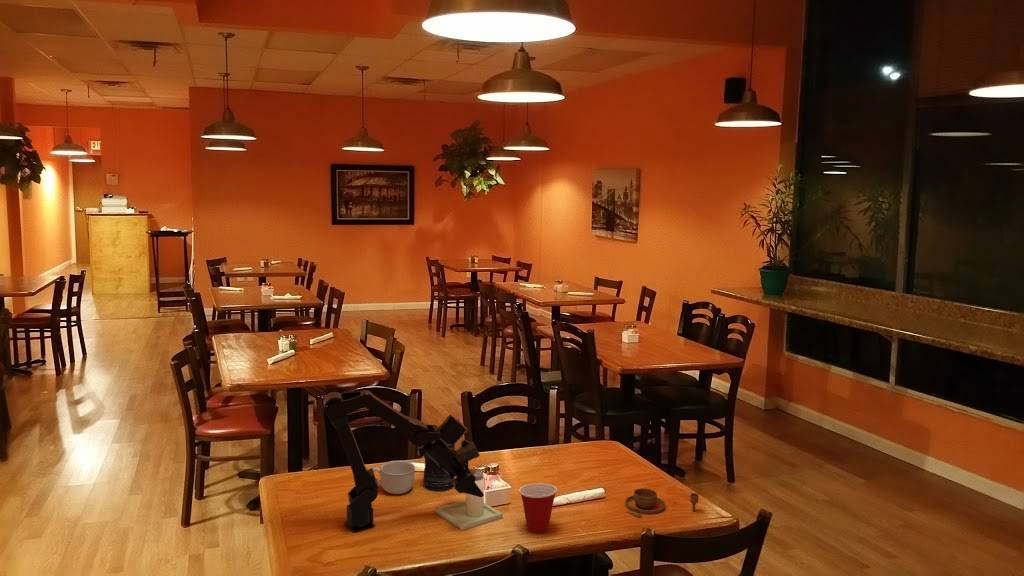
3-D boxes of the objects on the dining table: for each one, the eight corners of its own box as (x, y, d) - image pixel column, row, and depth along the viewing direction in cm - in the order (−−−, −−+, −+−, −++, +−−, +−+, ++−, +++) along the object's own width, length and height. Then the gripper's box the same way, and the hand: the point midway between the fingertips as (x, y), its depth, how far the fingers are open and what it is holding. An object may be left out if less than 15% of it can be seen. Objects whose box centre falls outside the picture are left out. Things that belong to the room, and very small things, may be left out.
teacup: (418, 485, 248) (418, 461, 247) (410, 498, 238) (410, 473, 237) (375, 482, 250) (375, 458, 249) (366, 496, 239) (366, 471, 238)
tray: (462, 530, 217) (462, 525, 217) (435, 513, 228) (435, 508, 228) (502, 518, 225) (502, 513, 225) (474, 502, 236) (474, 497, 236)
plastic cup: (533, 517, 227) (534, 477, 225) (563, 528, 220) (565, 487, 218) (509, 529, 218) (510, 488, 217) (540, 541, 212) (541, 499, 210)
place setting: (643, 494, 247) (644, 476, 246) (700, 512, 234) (701, 494, 233) (612, 510, 234) (613, 491, 233) (670, 531, 221) (672, 511, 220)
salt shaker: (476, 519, 223) (477, 476, 221) (462, 514, 226) (462, 472, 224) (486, 512, 227) (487, 471, 226) (472, 508, 230) (473, 467, 228)
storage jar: (460, 484, 250) (461, 439, 248) (442, 494, 242) (443, 448, 240) (435, 477, 255) (436, 433, 253) (417, 487, 247) (417, 442, 245)
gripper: (468, 446, 213) (506, 482, 217) (457, 425, 231) (493, 458, 235) (439, 475, 213) (478, 510, 217) (431, 452, 231) (467, 485, 235)
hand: (479, 489), depth 226 cm, fingers open, 9 cm apart
